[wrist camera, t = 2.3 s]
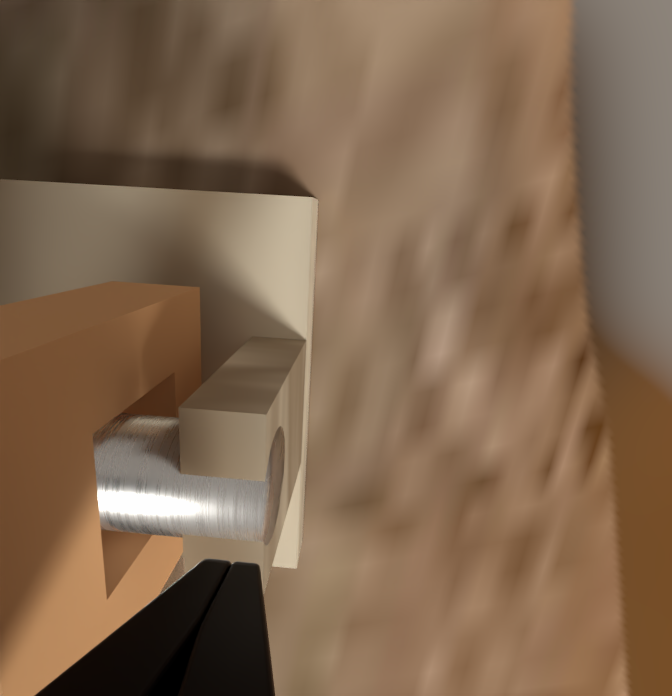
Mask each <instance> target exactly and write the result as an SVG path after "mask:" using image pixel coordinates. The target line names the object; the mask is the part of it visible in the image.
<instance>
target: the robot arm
mask: <svg viewBox="0 0 672 696" xmlns="http://www.w3.org/2000/svg"><path fill="white" fill-rule="evenodd" d="M34 696H275V689H274V681H273V673H272V664H271V656H270V647H269V639H268V630H267V622H266V613H265V605H264V596H263V588H262V579H261V571H260V566H259V565H258V564H257V563H249V562H239V561H236V562H234V563H231V562H230V561H228V560H220V559H210V558H208V559H204V560H202V561H201V562H200V563H198V564H197V565H196V566H195V567H193V568H192V569H191V570H190V571H188V572H187V573H186V574H185V575H183V576H182V577H181V578H180V579H178V580H177V581H176V582H175V583H173V584H172V585H171V586H170V587H168V588H167V589H166V590H165V591H164V592H162V593H161V594H160V595H159V596H157V597H156V598H155V599H154V600H152V601H151V602H150V603H149V604H147V605H146V606H145V607H144V608H142V609H141V610H140V611H139V612H137V613H136V614H135V615H134V616H132V617H131V618H130V619H129V620H128V621H126V622H125V623H124V624H123V625H121V626H120V627H119V628H118V629H116V630H115V631H114V632H113V633H111V634H110V635H109V636H108V637H106V638H105V639H104V640H103V641H101V642H100V643H99V644H98V645H96V646H95V647H94V648H93V649H92V650H90V651H89V652H88V653H87V654H85V655H84V656H83V657H82V658H80V659H79V660H78V661H77V662H75V663H74V664H73V665H72V666H70V667H69V668H68V669H67V670H65V671H64V672H63V673H62V674H60V675H59V676H58V677H57V678H56V679H54V680H53V681H52V682H51V683H49V684H48V685H47V686H46V687H44V688H43V689H42V690H41V691H39V692H38V693H37V694H36V695H34Z"/></svg>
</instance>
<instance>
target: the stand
mask: <svg viewBox="0 0 672 696" xmlns="http://www.w3.org/2000/svg"><path fill="white" fill-rule="evenodd" d="M317 218H318V200H317V199H315V198H313V197H301V196H284V195H266V194H249V193H232V192H215V191H197V190H180V189H163V188H145V187H128V186H111V185H94V184H76V183H59V182H42V181H25V180H7V179H0V305H5V304H10V303H14V302H19V301H23V300H28V299H33V298H37V297H42V296H46V295H51V294H56V293H60V292H65V291H70V290H74V289H79V288H83V287H88V286H93V285H97V284H102V283H106V282H111V281H117V282H132V283H146V284H161V285H175V286H190V287H200V325H201V378H202V385H201V386H200V387H199V388H198V389H197V390H196V391H195V392H194V393H193V394H192V395H191V396H190V397H189V398H188V399H187V400H186V401H185V402H184V403H182V404H181V405H180V406H179V407H178V411H179V441H180V471H181V474H186V475H197V476H208V477H219V478H231V479H242V480H253V481H264V482H265V478H266V472H267V465H268V460H269V455H270V450H271V446H272V442H273V439H274V436H275V433H276V431H277V429H278V428H279V427H280V426H281V427H282V428H283V431H284V438H285V462H284V476H283V477H282V483H281V491H280V497H279V504H278V509H279V512H278V511H277V512H278V517H277V521H276V525H275V529H274V533H273V536H272V538H271V541H270V543H269V544H268V545H267V546H266V545H265V544H264V542H257V541H247V540H236V539H226V538H215V537H205V536H194V535H184V534H183V553H182V555H181V557H183V560H184V575H185V574H186V573H187V572H188V571H190V570H191V569H192V568H193V567H195V566H196V565H197V564H198V563H200V562H201V561H202V560H204V559H208V558H210V559H220V560H228V561H230V562H231V563H234V562H236V561H239V562H249V563H257V564H258V565H259V566H260V571H261V579H262V588H263V596H264V593H265V589H266V586H267V582H268V579H269V575H270V571H271V568H272V566H275V567H285V568H295V569H297V564H298V559H299V555H300V550H301V545H302V540H303V521H304V500H305V478H306V456H307V435H308V413H309V391H310V370H311V348H312V326H313V305H314V283H315V261H316V240H317ZM280 499H281V500H280ZM279 505H280V506H279Z"/></svg>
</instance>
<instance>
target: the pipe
mask: <svg viewBox="0 0 672 696" xmlns="http://www.w3.org/2000/svg"><path fill="white" fill-rule="evenodd" d="M92 436H93V447H94V459H95V470H96V482H97V493H98V504H99V516H100V527H101V530H109V531H119V532H130V533H140V534H150V535H161V536H171V537H181V538H183V534H184V535H194V536H205V537H215V538H226V539H236V540H247V541H257V542H264V544H265V545H266V546H267V545H268V544H269V543H270V541H271V538H272V536H273V533H274V529H275V525H276V521H277V517H278V512H279V509H278V504H279V497H280V491H281V483H282V477H283V476H284V462H285V438H284V431H283V428H282V427H281V426H280V427H279V428H278V429H277V431H276V433H275V436H274V439H273V442H272V446H271V450H270V455H269V460H268V465H267V472H266V478H265V482H264V481H253V480H242V479H231V478H219V477H208V476H197V475H186V474H181V471H180V441H179V418H176V417H164V416H152V415H140V414H128V413H120V414H118V415H117V416H116V417H114V418H113V419H112V420H110V421H109V422H108V423H107V424H105V425H104V426H103V427H101V428H100V429H99V430H97V431H96V432H95V433H93V434H92ZM280 500H281V499H280ZM279 506H280V505H279ZM277 511H278V512H277Z"/></svg>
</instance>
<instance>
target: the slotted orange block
mask: <svg viewBox="0 0 672 696" xmlns="http://www.w3.org/2000/svg"><path fill="white" fill-rule="evenodd" d="M201 385H202V378H201V325H200V287H190V286H175V285H161V284H146V283H132V282H117V281H111V282H106V283H102V284H97V285H93V286H88V287H83V288H79V289H74V290H70V291H65V292H60V293H56V294H51V295H46V296H42V297H37V298H33V299H28V300H23V301H19V302H14V303H10V304H5V305H0V696H34V695H36V694H37V693H38V692H39V691H41V690H42V689H43V688H44V687H46V686H47V685H48V684H49V683H51V682H52V681H53V680H54V679H56V678H57V677H58V676H59V675H60V674H62V673H63V672H64V671H65V670H67V669H68V668H69V667H70V666H72V665H73V664H74V663H75V662H77V661H78V660H79V659H80V658H82V657H83V656H84V655H85V654H87V653H88V652H89V651H90V650H92V649H93V648H94V647H95V646H96V645H98V644H99V643H100V642H101V641H103V640H104V639H105V638H106V637H108V636H109V635H110V634H111V633H113V632H114V631H115V630H116V629H118V628H119V627H120V626H121V625H123V624H124V623H125V622H126V621H128V620H129V619H130V618H131V617H132V616H134V615H135V614H136V613H137V612H139V611H140V610H141V609H142V608H144V607H145V606H146V605H147V604H149V603H150V602H151V601H152V600H154V599H155V598H156V597H157V596H159V594H160V592H161V590H162V588H163V587H164V585H165V583H166V581H167V580H168V578H169V576H170V574H171V573H172V571H173V569H174V567H175V565H176V564H177V562H178V560H179V558H180V557H181V555H182V553H183V538H181V537H171V536H161V535H150V534H140V533H130V532H119V531H109V530H101V527H100V516H99V504H98V493H97V482H96V470H95V459H94V447H93V436H92V434H93V433H95V432H96V431H97V430H99V429H100V428H101V427H103V426H104V425H105V424H107V423H108V422H109V421H110V420H112V419H113V418H114V417H116V416H117V415H118V414H120V413H128V414H140V415H152V416H164V417H176V418H179V411H178V407H179V406H180V405H181V404H182V403H184V402H185V401H186V400H187V399H188V398H189V397H190V396H191V395H192V394H193V393H194V392H195V391H196V390H197V389H198V388H199V387H200V386H201Z"/></svg>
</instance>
